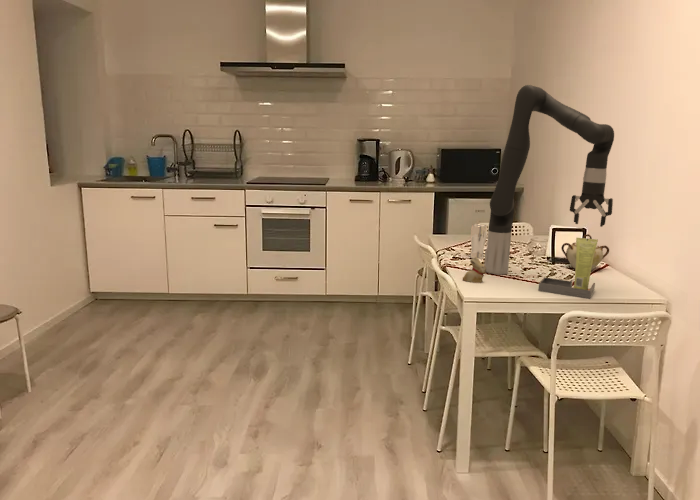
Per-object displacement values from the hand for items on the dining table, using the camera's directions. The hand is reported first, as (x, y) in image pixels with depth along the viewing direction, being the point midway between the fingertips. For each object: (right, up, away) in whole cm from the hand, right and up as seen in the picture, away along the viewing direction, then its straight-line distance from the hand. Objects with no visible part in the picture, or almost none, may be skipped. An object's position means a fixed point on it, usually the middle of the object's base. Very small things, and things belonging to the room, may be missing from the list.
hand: (588, 225), depth 220 cm
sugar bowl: (+13, -17, +40) cm, 45 cm away
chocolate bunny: (-39, -21, +15) cm, 47 cm away
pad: (-1, -24, +6) cm, 25 cm away
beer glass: (-29, -13, +55) cm, 64 cm away
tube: (-1, -24, +6) cm, 25 cm away
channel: (-7, -24, +5) cm, 26 cm away
